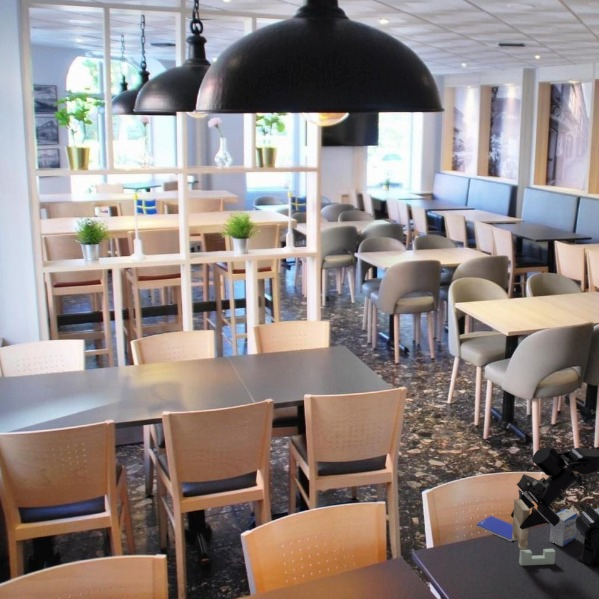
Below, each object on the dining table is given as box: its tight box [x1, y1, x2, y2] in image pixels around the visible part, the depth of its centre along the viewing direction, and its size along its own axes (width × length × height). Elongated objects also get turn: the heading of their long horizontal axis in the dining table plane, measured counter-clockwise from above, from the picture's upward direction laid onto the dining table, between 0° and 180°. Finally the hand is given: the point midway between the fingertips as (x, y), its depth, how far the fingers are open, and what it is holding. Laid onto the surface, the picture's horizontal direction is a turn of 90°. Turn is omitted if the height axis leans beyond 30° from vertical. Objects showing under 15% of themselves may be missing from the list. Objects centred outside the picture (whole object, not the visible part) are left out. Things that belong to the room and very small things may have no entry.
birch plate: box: [512, 499, 531, 550], centre depth 226 cm, size 2×6×12 cm, turn 6°
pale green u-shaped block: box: [518, 548, 556, 566], centre depth 229 cm, size 10×2×4 cm, turn 96°
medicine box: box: [549, 508, 578, 547], centre depth 242 cm, size 8×4×9 cm, turn 132°
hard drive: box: [476, 515, 514, 542], centre depth 248 cm, size 2×8×12 cm
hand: (516, 522), depth 226 cm, fingers closed on birch plate, 6 cm apart
